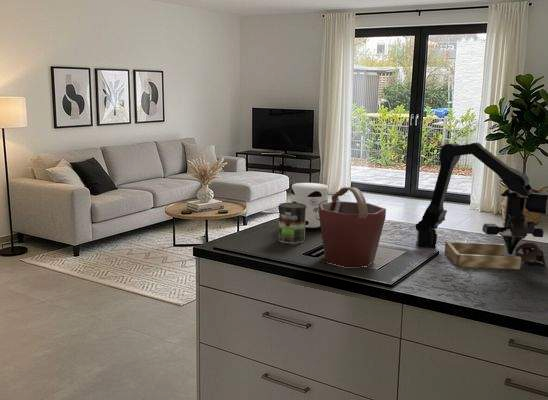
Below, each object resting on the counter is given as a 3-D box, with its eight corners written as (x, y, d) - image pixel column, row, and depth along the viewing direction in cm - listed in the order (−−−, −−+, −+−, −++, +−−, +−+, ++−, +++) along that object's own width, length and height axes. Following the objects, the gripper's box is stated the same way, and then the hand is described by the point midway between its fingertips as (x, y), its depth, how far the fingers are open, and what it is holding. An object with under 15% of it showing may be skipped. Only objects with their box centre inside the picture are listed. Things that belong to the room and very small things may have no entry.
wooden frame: (456, 266, 184) (457, 254, 183) (444, 251, 201) (445, 241, 200) (519, 269, 182) (521, 257, 181) (502, 254, 199) (503, 243, 198)
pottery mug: (551, 269, 184) (544, 250, 181) (523, 279, 187) (515, 260, 184) (539, 251, 195) (532, 232, 192) (512, 260, 197) (505, 242, 195)
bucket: (315, 250, 199) (318, 182, 195) (377, 252, 199) (381, 183, 194) (319, 271, 175) (322, 194, 171) (388, 273, 175) (393, 196, 170)
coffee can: (299, 245, 204) (301, 208, 202) (274, 242, 208) (275, 206, 206) (308, 239, 214) (309, 203, 211) (283, 236, 218) (284, 201, 215)
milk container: (330, 232, 226) (332, 189, 222) (288, 231, 226) (289, 188, 222) (327, 223, 243) (328, 182, 239) (287, 222, 243) (289, 181, 239)
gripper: (494, 213, 180) (489, 259, 183) (552, 216, 179) (547, 262, 181) (484, 207, 191) (479, 250, 194) (539, 209, 189) (534, 253, 192)
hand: (509, 254), depth 190 cm, fingers closed
